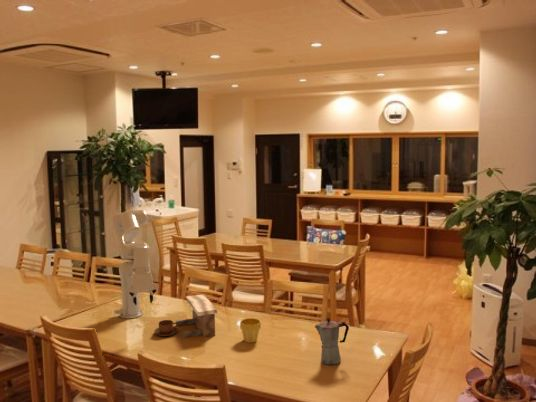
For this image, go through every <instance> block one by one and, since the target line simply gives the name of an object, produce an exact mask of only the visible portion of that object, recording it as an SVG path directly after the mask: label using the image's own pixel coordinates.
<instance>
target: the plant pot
mask: <svg viewBox="0 0 536 402" xmlns="http://www.w3.org/2000/svg"><path fill="white" fill-rule="evenodd" d="M261 322H262V321H261V320H260V319H258V318H255V317H248V318H243V319H242V320H240V322H239V325H240V326H239V327H240V330H241V334H242V336H243V337H242V338H243V341H244V342H245V343H249V344H250V343H251V344H252V343H256V342H257V341H258V337H259V333H260V329H262V328H261V327H262V326H261V325H262V323H261Z"/></svg>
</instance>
